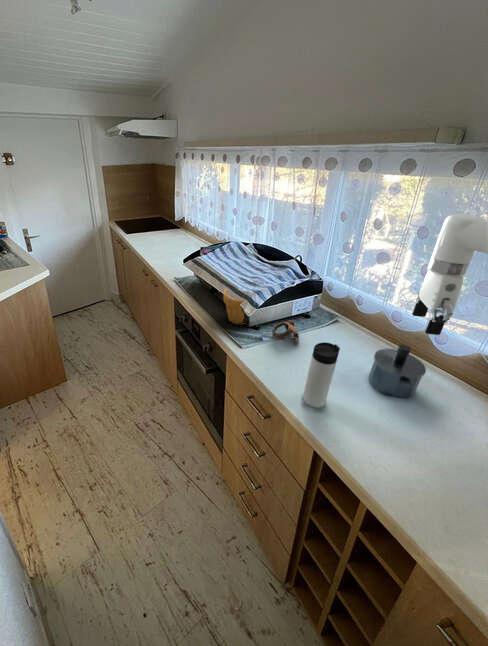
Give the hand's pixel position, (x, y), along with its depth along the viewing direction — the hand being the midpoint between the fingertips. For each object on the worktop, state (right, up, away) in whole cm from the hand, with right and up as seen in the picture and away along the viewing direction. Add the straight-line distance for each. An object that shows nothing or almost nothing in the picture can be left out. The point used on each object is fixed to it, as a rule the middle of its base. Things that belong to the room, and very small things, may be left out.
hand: (424, 324), depth 84 cm
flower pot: (-43, -1, +50) cm, 66 cm away
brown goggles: (-27, -8, +36) cm, 46 cm away
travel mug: (-28, -24, +7) cm, 37 cm away
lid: (-1, -13, +9) cm, 16 cm away
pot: (-1, -20, +13) cm, 24 cm away
